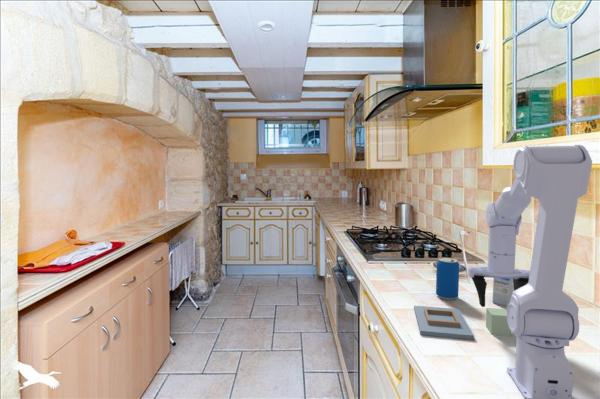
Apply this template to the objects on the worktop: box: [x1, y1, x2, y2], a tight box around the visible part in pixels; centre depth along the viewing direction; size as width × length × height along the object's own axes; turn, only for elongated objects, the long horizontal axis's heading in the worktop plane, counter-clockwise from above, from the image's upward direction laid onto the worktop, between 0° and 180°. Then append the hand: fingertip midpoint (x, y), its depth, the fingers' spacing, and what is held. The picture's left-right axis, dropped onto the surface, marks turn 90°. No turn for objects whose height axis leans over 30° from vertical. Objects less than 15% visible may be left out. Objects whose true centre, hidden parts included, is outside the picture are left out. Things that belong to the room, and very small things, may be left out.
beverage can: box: [435, 256, 460, 301], centre depth 108 cm, size 6×6×12 cm
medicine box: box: [492, 278, 514, 307], centre depth 105 cm, size 8×4×9 cm, turn 141°
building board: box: [413, 305, 475, 341], centre depth 90 cm, size 16×12×2 cm
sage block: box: [485, 307, 512, 337], centre depth 85 cm, size 4×4×5 cm
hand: (499, 306), depth 85 cm, fingers open, 7 cm apart
